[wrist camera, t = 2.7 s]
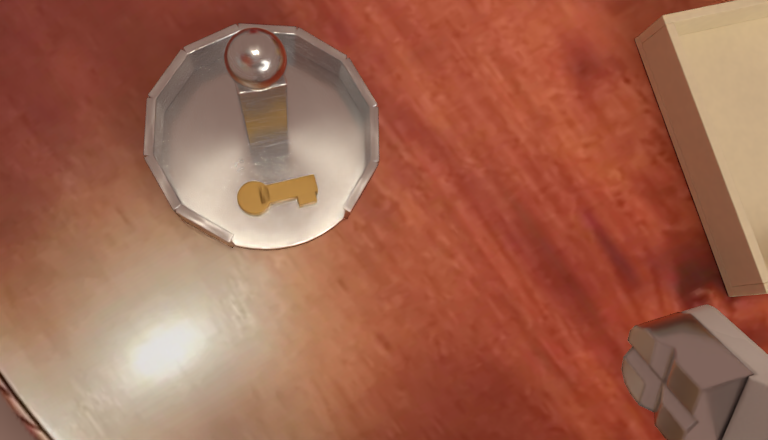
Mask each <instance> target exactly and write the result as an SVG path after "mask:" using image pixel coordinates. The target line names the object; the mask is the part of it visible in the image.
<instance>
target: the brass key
mask: <svg viewBox="0 0 768 440" xmlns="http://www.w3.org/2000/svg"><path fill="white" fill-rule="evenodd" d="M316 193H318V188H317V184H316V180H315V177H314V174H312V175H308V176H304V177H299V178H295V179H291V180H287V181H282V182H278V183H274V184H269V185H265V184H263V183H261V182H258V181H251V182H248V183H246V184H244V185H243V186H242V187H241V188H240V189H239V191H238V195H237V200H238V204H239V206H240V208H241V209H242V210H243V211H244V212H245V213H247V214H250V215H260V214H262V213H264V212H265V211H267V210H268V208H269V207H270V205H271V204H274V203H279V202H283V201H287V200H291V199H295V198H297V200H298V204H299V206H304V205H308V204H313V203H316V202H317V198H316Z"/></svg>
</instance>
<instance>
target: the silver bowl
mask: <svg viewBox="0 0 768 440" xmlns="http://www.w3.org/2000/svg"><path fill="white" fill-rule="evenodd" d="M183 48H184V50H183V49H181V50H180V51H179V53H178V54H177V55H176V57H175V58H174V60H173V61H172V62H171V64H170V65H169V66H168V68H167V69H166V71H165V72H164V73H163V75H162V76H161V78H160V79H159V80H158V82H157V83H156V84H155V86H154V87H153V89H152V90H151V91H150V93H149V94H148V96H149V98H147V102H146V118H145V135H144V151H143V155H144V156H145V157H144V159H145V161H146V163H147V165H148V166H149V168H150V170H151V172H152V173H153V175H154V177H155V179H156V181H157V182H158V184H159V186H160V188H161V190H162V191H163V193H164V195H165V197H166V198H167V200H168V202H169V204H170V206H171V207H172V209H173V210H174V211H175V212H176V214H177V215H178V216H179V217H180V218H181V219H182V220H184V221H186V222H187V223H189V224H191V225H193V226H194V227H196V228H198V229H200V230H201V231H203V232H204V233H206V234H207V235H209V236H211V237H213V238H215V239H217V240H219V241H221V242H222V243H224V244H226V245H228V246H229V247H231V248H233V247H234V246H236V247H241V248H246V249H252V250H280V249H285V248H290V247H295V246H298V245H301V244H304V243H307V242H309V241H312V240H314V239H316V238H318V237H320V236H322V235H323V234H325V233H326V232H328V231H329V230H331V229H332V228H334V227H335V226H336V225H337V224H338V223H339V222H341V221H342V220H343V219H344V218H345V219H348V217H349V215H350V214H351V212H352V210H353V208H354V207H355V205H356V203H357V202H358V200H359V198H360V197H361V195H362V193H363V191H364V190H365V188H366V186H367V184H368V183H369V181H370V179H371V178H372V176H373V174H374V172H375V170H376V168H377V166H378V163H379V110H378V107H377V103H376V101H375V99H374V98H373V96H372V94H371V93H370V91H369V89H368V88H367V86H366V85H365V83H364V81H363V80H362V78H361V76H360V75H359V73H358V71H357V70H356V68H355V66H354V65H353V63H352V61H351V60H350V58H347V55H345V54H343V53H342V52H340V51H338V50H337V49H335V48H333V47H331V46H330V45H328V44H326V43H325V42H323V41H321V40H320V39H318V38H316V37H314V36H313V35H311V34H309V33H308V32H306V31H304V30H303V29H301V28H298V29H297V30H296V26H281V25H264V24H247V23H239V24H238V26H237V24H234V25H231V26H229V27H227V28H225V29H222V30H220V31H218V32H216V33H214V34H211V35H209V36H207V37H205V38H202V39H200V40H198V41H196V42H194V43H191V44H189V45H187V46H185V47H183ZM312 174H314V177H315V180H316V184H317V188H318V193H316V198H317V202H316V203H313V204H308V205H304V206H299V204H298V200H297V198H295V199H291V200H287V201H283V202H279V203H274V204H271V205H270V207H269V208H268V210H267V211H265V212H264V213H262V214H260V215H250V214H247V213H245V212H244V211H243V210H242V209H241V208H240V206H239V204H238V200H237V195H238V191H239V189H240V188H241V187H242V186H243V185H244V184H246V183H248V182H251V181H258V182H261V183H263V184H265V185H269V184H274V183H278V182H282V181H287V180H291V179H295V178H299V177H304V176H308V175H312Z"/></svg>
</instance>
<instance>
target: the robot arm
mask: <svg viewBox="0 0 768 440" xmlns="http://www.w3.org/2000/svg"><path fill="white" fill-rule="evenodd" d="M628 341H629V343H630V344H631V345H632V348H631V349H630V350H629V351H628V352H627V353H626V355H625V356H624V357H623V363H622V369H621V370H622V374H623V378H624V382H625V385H626V387H627V388H628V390H629V392H630V394H631V395H632V397H633V398H634V399H635V401H636V402H637V403H638V404H639V405H640V406H642V407H644V408H646V409H648V410H650V411H652V412H654V423H655V426H656V427H657V428H658V430H659V431H660V432H661V433H662V435H663V436H664V437H665V438H666V440H768V354H766V353H765V352H764V351H763V350H762V349H761V348H760V347H759V346H757V345H756V344H755V343H754V342H753V341H752V340H751V339H750V338H749V337H747V336H746V335H745V334H744V333H743V332H742V331H741V330H740V329H738V328H737V327H736V326H735V325H734V324H733V323H732V322H731V321H730V320H728V319H727V318H726V317H725V316H724V315H723V314H722V313H721V312H719V311H718V310H717V309H716V308H714V307H712V306H710V305H702V306H698V307H695V308H692V309H689V310H686V311H683V312H677V313H674V314H670V315H667V316H664V317H661V318H658V319H655V320H651V321H648V322H645V323H642V324H639V325H636V326H634V327H633V328H632V329H631V330H630V333H629V336H628Z"/></svg>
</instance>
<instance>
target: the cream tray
mask: <svg viewBox="0 0 768 440" xmlns="http://www.w3.org/2000/svg"><path fill="white" fill-rule="evenodd" d="M635 42H636V45H637V47H638V50H639V53H640V56H641V58H642V61H643V64H644V67H645V69H646V72H647V75H648V77H649V80H650V83H651V86H652V88H653V91H654V94H655V97H656V99H657V102H658V105H659V107H660V110H661V113H662V116H663V118H664V121H665V124H666V126H667V129H668V132H669V135H670V137H671V140H672V143H673V146H674V148H675V151H676V154H677V156H678V159H679V162H680V165H681V167H682V170H683V173H684V175H685V178H686V181H687V184H688V186H689V189H690V192H691V195H692V197H693V200H694V203H695V205H696V208H697V211H698V214H699V216H700V219H701V222H702V224H703V227H704V230H705V233H706V235H707V238H708V241H709V244H710V246H711V249H712V252H713V254H714V257H715V260H716V263H717V265H718V268H719V271H720V274H721V276H722V279H723V282H724V284H725V287H726V290H727V293H728V295H729V297H735V296H745V295H757V294H768V0H735V1H730V2H725V3H720V4H715V5H710V6H706V7H701V8H696V9H691V10H686V11H681V12H676V13H671V14H667V15H662V16H661V17H660V18H659V19H658V20H656V21H655V22H654V23H653V24H652V25H651V26H650V27H648V28H647V29H646V30H645V31H644V32H643V33H641V34H640V35H639V36H638V37H637V38H635Z"/></svg>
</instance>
